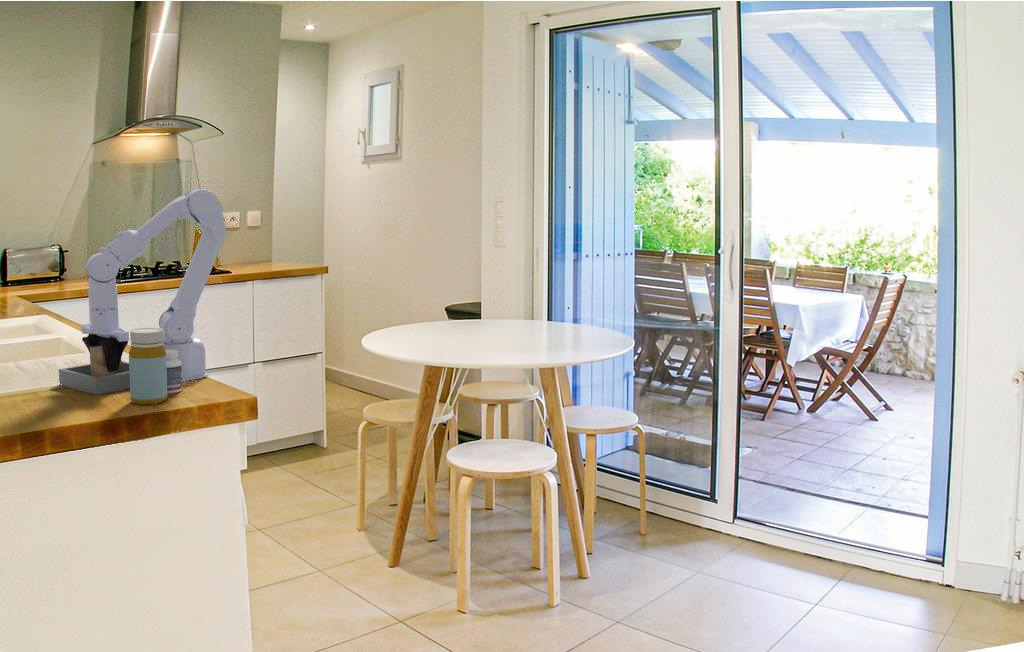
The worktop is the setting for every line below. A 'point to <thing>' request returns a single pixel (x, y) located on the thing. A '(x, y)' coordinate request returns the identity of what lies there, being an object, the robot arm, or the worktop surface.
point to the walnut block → (100, 363)
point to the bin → (94, 379)
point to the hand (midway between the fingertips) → (106, 369)
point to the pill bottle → (173, 371)
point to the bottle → (147, 366)
